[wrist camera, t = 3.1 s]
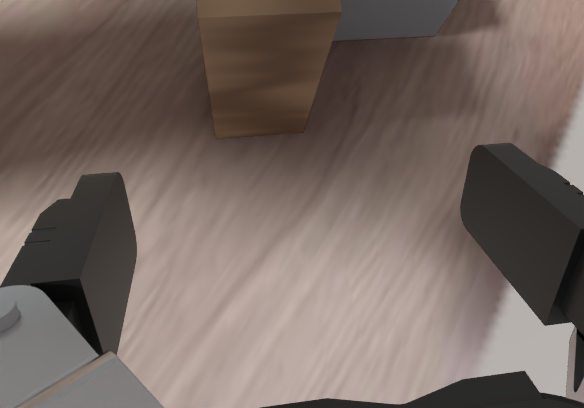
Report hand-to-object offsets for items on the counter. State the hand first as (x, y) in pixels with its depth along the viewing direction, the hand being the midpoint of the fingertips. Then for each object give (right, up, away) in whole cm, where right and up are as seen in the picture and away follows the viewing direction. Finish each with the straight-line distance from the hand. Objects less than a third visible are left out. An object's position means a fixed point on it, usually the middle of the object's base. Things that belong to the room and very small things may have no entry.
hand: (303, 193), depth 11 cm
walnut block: (-2, +5, +14) cm, 15 cm away
